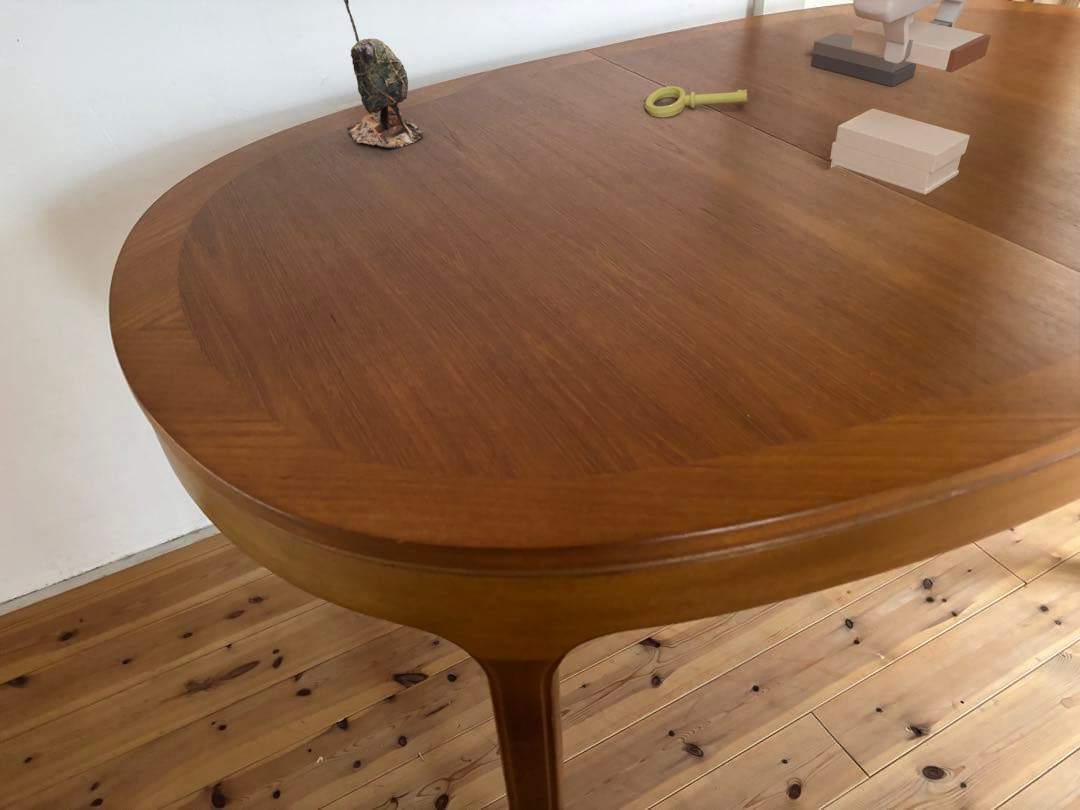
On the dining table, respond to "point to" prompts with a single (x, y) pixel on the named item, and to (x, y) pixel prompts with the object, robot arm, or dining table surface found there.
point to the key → (688, 100)
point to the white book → (928, 44)
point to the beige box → (899, 150)
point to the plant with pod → (380, 94)
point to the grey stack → (858, 61)
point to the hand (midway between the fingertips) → (917, 50)
